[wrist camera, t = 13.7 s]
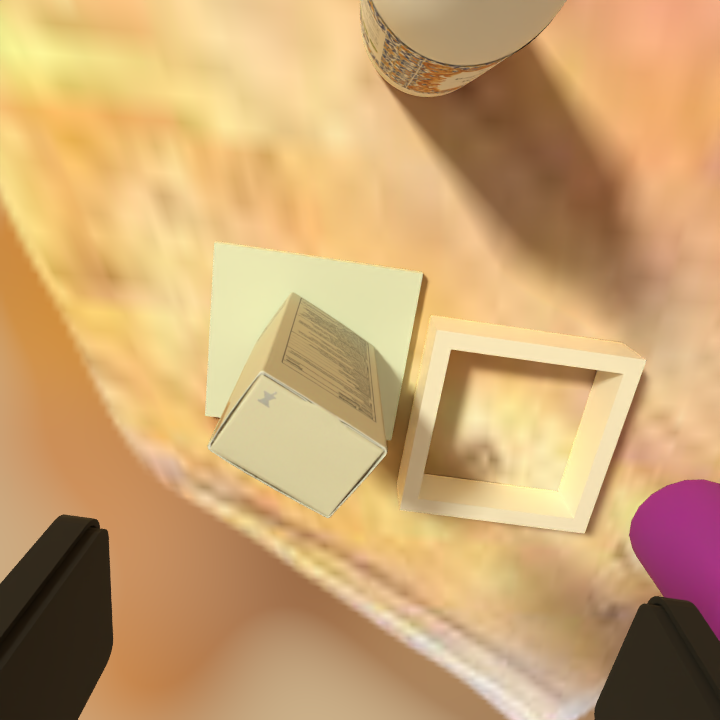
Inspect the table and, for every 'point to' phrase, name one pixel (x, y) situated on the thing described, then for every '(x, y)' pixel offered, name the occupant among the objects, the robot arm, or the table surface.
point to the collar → (589, 449)
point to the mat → (324, 290)
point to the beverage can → (683, 544)
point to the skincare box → (305, 409)
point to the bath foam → (447, 38)
